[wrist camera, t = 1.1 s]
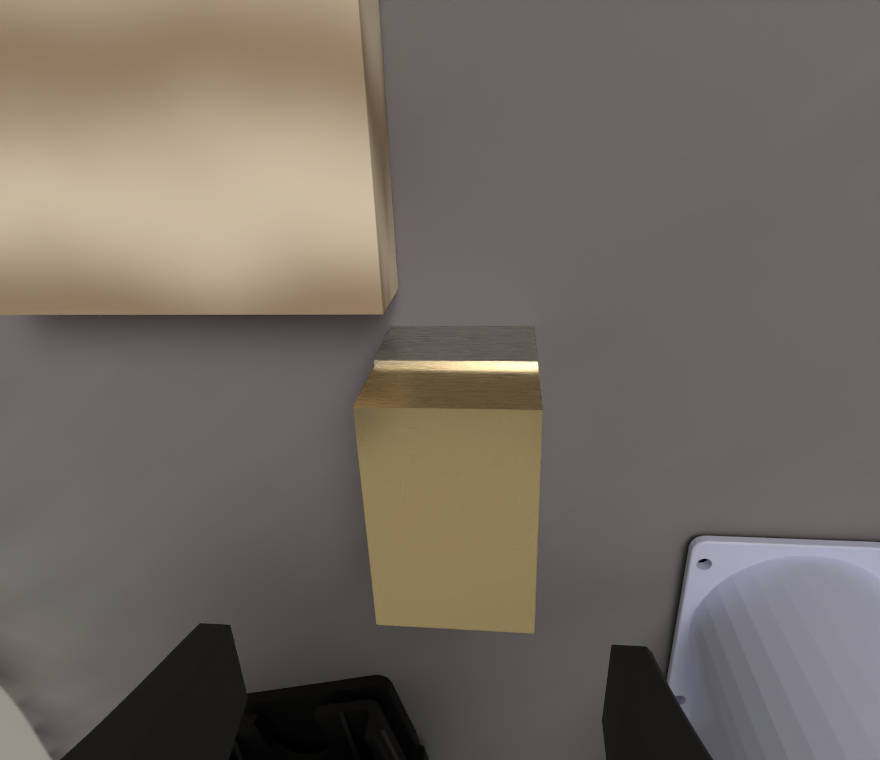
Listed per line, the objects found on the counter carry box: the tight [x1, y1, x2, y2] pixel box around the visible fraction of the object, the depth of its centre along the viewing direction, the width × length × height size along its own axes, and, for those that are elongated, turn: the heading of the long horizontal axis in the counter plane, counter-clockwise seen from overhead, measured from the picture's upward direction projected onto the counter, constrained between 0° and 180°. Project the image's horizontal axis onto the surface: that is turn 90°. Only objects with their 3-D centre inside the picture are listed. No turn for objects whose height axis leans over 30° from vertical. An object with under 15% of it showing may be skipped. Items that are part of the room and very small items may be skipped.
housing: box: [353, 326, 543, 633], centre depth 19 cm, size 8×5×6 cm, turn 2°
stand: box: [0, 0, 398, 315], centre depth 16 cm, size 12×12×2 cm
